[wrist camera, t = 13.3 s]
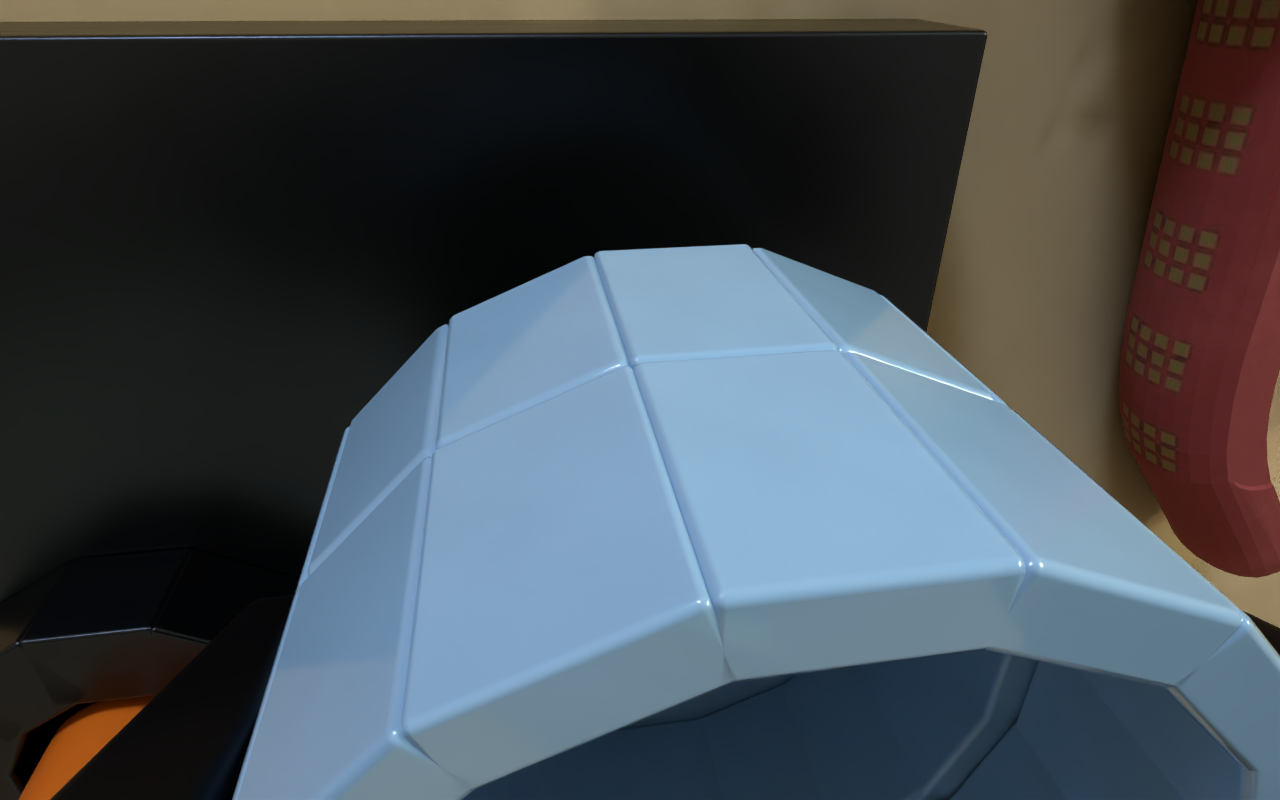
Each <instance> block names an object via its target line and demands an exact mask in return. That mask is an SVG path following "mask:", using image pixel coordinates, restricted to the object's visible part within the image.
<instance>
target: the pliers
mask: <svg viewBox="0 0 1280 800" xmlns="http://www.w3.org/2000/svg"><path fill="white" fill-rule="evenodd" d="M1279 369H1280V0H1198V3H1197V8H1196V12H1195V17H1194V21H1193V25H1192V30H1191V34H1190V38H1189V43H1188V47H1187V52H1186V56H1185V60H1184V65H1183V69H1182V73H1181V78H1180V82H1179V87H1178V91H1177V95H1176V100H1175V104H1174V109H1173V113H1172V117H1171V122H1170V126H1169V130H1168V135H1167V139H1166V144H1165V148H1164V152H1163V157H1162V161H1161V166H1160V170H1159V174H1158V179H1157V183H1156V187H1155V192H1154V196H1153V201H1152V205H1151V209H1150V214H1149V218H1148V223H1147V227H1146V231H1145V236H1144V240H1143V244H1142V249H1141V253H1140V258H1139V262H1138V266H1137V271H1136V275H1135V279H1134V284H1133V288H1132V293H1131V297H1130V301H1129V306H1128V310H1127V315H1126V320H1125V327H1124V334H1123V340H1122V347H1121V359H1120V372H1119V407H1120V413H1121V420H1122V426H1123V432H1124V436H1125V440H1126V442H1127V444H1128V446H1129V448H1130V450H1131V452H1132V454H1133V456H1134V458H1135V460H1136V462H1137V463H1138V465H1139V467H1140V469H1141V471H1142V473H1143V475H1144V477H1145V479H1146V480H1147V482H1148V484H1149V486H1150V488H1151V490H1152V492H1153V494H1154V495H1155V497H1156V499H1157V501H1158V503H1159V505H1160V507H1161V509H1162V510H1163V512H1164V514H1165V516H1166V518H1167V520H1168V522H1169V524H1170V526H1171V528H1172V530H1173V532H1174V533H1175V535H1176V536H1177V537H1178V539H1179V540H1180V541H1181V543H1182V544H1183V545H1185V546H1186V547H1187V548H1188V549H1189V550H1190V551H1191V552H1192V553H1193V554H1195V555H1196V556H1197V557H1199V558H1200V559H1202V560H1204V561H1205V562H1207V563H1209V564H1210V565H1212V566H1214V567H1216V568H1218V569H1221V570H1223V571H1225V572H1228V573H1231V574H1235V575H1238V576H1244V577H1256V578H1257V577H1262V576H1267V575H1270V574H1273V573H1276V572H1279V571H1280V502H1279V499H1278V497H1277V494H1276V491H1275V489H1274V486H1273V485H1272V483H1271V480H1270V475H1269V469H1268V463H1267V439H1266V438H1267V429H1268V420H1269V412H1270V407H1271V402H1272V398H1273V393H1274V388H1275V384H1276V380H1277V377H1278V373H1279Z"/></svg>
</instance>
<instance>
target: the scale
mask: <svg viewBox="0 0 1280 800" xmlns="http://www.w3.org/2000/svg"><path fill="white" fill-rule="evenodd" d="M986 39H987V32H986V31H984V30H980V29H974V28H968V27H961V26H955V25H949V24H943V23H937V22H931V21H925V20H919V19H759V20H463V21H167V22H0V800H18V799H19V797H20V795H21V794H22V792H23V790H24V788H25V786H26V785H27V783H28V781H29V779H30V777H31V776H32V774H33V772H34V770H35V768H36V767H37V765H38V763H39V761H40V759H41V758H42V756H43V754H44V752H45V751H46V749H47V747H48V745H49V743H50V742H51V740H52V738H53V736H54V734H55V733H56V731H57V730H58V729H59V727H60V726H61V725H62V724H63V723H64V722H65V721H66V720H67V719H68V718H69V717H71V716H72V715H74V714H75V713H77V712H78V711H80V710H81V709H83V708H85V707H87V706H89V705H91V704H93V703H96V702H99V701H107V700H116V699H125V698H133V697H142V696H150V695H153V696H156V695H157V694H158V693H159V692H160V691H161V690H162V689H163V688H164V687H165V686H166V685H167V684H168V683H169V682H170V681H171V680H172V679H173V678H174V677H175V676H176V675H177V674H178V673H179V672H180V671H182V670H183V669H184V668H185V667H186V666H187V665H188V664H189V663H190V662H191V661H192V660H193V659H194V658H195V657H196V656H197V655H198V654H199V653H200V652H201V651H202V650H203V649H204V648H205V647H206V646H207V645H208V644H209V643H210V642H211V641H212V640H213V639H214V638H215V637H216V636H217V635H218V634H219V633H220V632H221V631H222V630H223V629H224V628H225V627H226V626H227V625H228V624H229V623H231V622H232V621H233V620H234V619H235V618H236V617H237V616H238V615H239V614H240V613H241V612H242V611H243V610H244V609H245V608H246V607H247V606H248V605H249V604H250V603H252V602H253V601H255V600H257V599H261V598H268V597H277V596H287V595H295V592H296V588H297V585H298V582H299V578H300V575H301V572H302V568H303V565H304V562H305V559H306V555H307V552H308V549H309V545H310V542H311V539H312V536H313V532H314V529H315V526H316V522H317V519H318V516H319V513H320V509H321V506H322V503H323V499H324V496H325V493H326V490H327V486H328V483H329V480H330V476H331V473H332V470H333V466H334V463H335V460H336V457H337V453H338V450H339V447H340V443H341V440H342V437H343V434H344V431H345V430H346V429H347V427H349V426H350V425H351V422H352V420H353V419H354V418H355V417H356V415H357V414H358V413H359V412H360V411H361V410H362V409H363V408H364V407H365V406H366V405H367V404H368V403H369V401H370V400H371V399H372V398H373V397H374V396H375V395H376V394H377V393H378V392H379V391H380V390H381V388H382V387H383V386H384V385H385V384H386V383H387V382H388V381H389V380H390V379H391V378H392V377H393V376H394V374H395V373H396V372H397V371H398V370H399V369H400V368H401V367H402V366H403V365H404V364H405V363H406V361H407V360H408V359H409V358H410V357H411V356H412V355H413V354H414V353H415V352H416V351H417V350H418V348H419V347H420V346H421V345H422V344H423V343H424V342H425V341H426V340H427V339H428V338H429V337H430V336H431V334H432V333H433V332H434V331H435V330H436V329H437V328H439V327H441V326H443V325H445V324H447V325H448V324H449V320H450V319H451V318H452V317H453V316H454V315H456V314H458V313H460V312H462V311H465V310H467V309H469V308H471V307H473V306H476V305H478V304H480V303H482V302H485V301H487V300H489V299H491V298H493V297H496V296H498V295H500V294H502V293H504V292H507V291H509V290H511V289H513V288H515V287H518V286H520V285H522V284H524V283H527V282H529V281H531V280H533V279H535V278H538V277H540V276H542V275H544V274H546V273H549V272H551V271H553V270H555V269H557V268H560V267H562V266H564V265H566V264H569V263H571V262H573V261H575V260H577V259H580V258H582V257H584V256H592V257H593V258H594V255H595V253H597V252H599V251H612V250H633V249H654V248H675V247H696V246H717V245H738V244H746V245H749V246H750V247H751V248H752V249H753V248H763V249H765V250H768V251H771V252H773V253H776V254H778V255H781V256H784V257H786V258H789V259H792V260H794V261H797V262H800V263H802V264H805V265H807V266H810V267H813V268H815V269H818V270H821V271H823V272H826V273H829V274H831V275H834V276H836V277H839V278H842V279H844V280H847V281H850V282H852V283H855V284H858V285H860V286H863V287H865V288H868V289H871V290H873V291H875V292H876V293H878V294H879V295H882V296H885V297H886V298H887V299H888V300H889V301H890V302H891V303H893V304H894V305H895V306H896V307H897V308H898V309H899V310H901V311H902V312H903V313H904V314H905V315H906V316H907V317H909V318H910V319H911V320H912V321H913V322H914V323H915V324H916V325H918V326H919V327H920V328H921V329H922V330H923V331H924V332H926V330H927V325H928V321H929V316H930V311H931V306H932V301H933V296H934V291H935V287H936V282H937V277H938V272H939V267H940V262H941V257H942V253H943V248H944V243H945V238H946V233H947V228H948V223H949V219H950V214H951V209H952V204H953V199H954V194H955V190H956V185H957V180H958V175H959V170H960V165H961V160H962V156H963V151H964V146H965V141H966V136H967V131H968V126H969V122H970V117H971V112H972V107H973V102H974V97H975V92H976V88H977V83H978V78H979V73H980V68H981V63H982V59H983V54H984V49H985V44H986Z"/></svg>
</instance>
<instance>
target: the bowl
mask: <svg viewBox="0 0 1280 800" xmlns="http://www.w3.org/2000/svg"><path fill="white" fill-rule="evenodd" d="M232 800H1280V655H1279V654H1278V653H1277V651H1276V650H1275V649H1274V648H1273V646H1272V645H1271V644H1270V643H1269V641H1268V640H1267V639H1266V637H1265V636H1264V635H1263V634H1262V632H1261V631H1260V630H1259V629H1258V627H1257V626H1256V625H1255V623H1254V622H1253V621H1252V620H1251V618H1250V617H1249V616H1248V615H1247V614H1246V613H1244V612H1243V611H1242V610H1241V609H1240V608H1239V607H1238V606H1236V605H1235V604H1234V603H1233V602H1232V601H1231V600H1230V599H1228V598H1227V597H1226V596H1225V595H1224V594H1223V593H1222V592H1220V591H1219V590H1218V589H1217V588H1216V587H1215V586H1214V585H1212V584H1211V583H1210V582H1209V581H1208V580H1207V579H1206V578H1205V577H1203V576H1202V575H1201V574H1200V573H1199V572H1198V571H1197V570H1195V569H1194V568H1193V567H1192V566H1191V565H1190V564H1189V563H1187V562H1186V561H1185V560H1184V559H1183V558H1182V557H1181V556H1179V555H1178V554H1177V553H1176V552H1175V551H1174V550H1173V549H1171V548H1170V547H1169V546H1168V545H1167V544H1166V543H1165V542H1163V541H1162V540H1161V539H1160V538H1159V537H1158V536H1157V535H1156V534H1154V533H1153V532H1152V531H1151V530H1150V529H1149V528H1148V527H1146V526H1145V525H1144V524H1143V523H1142V522H1141V521H1140V520H1138V519H1137V518H1136V517H1135V516H1134V515H1133V514H1132V513H1130V512H1129V511H1128V510H1127V509H1126V508H1125V507H1124V506H1122V505H1121V504H1120V503H1119V502H1118V501H1117V500H1116V499H1115V498H1113V497H1112V496H1111V495H1110V494H1109V493H1108V492H1107V491H1105V490H1104V489H1103V488H1102V487H1101V486H1100V485H1099V484H1097V483H1096V482H1095V481H1094V480H1093V479H1092V478H1091V477H1089V476H1088V475H1087V474H1086V473H1085V472H1084V471H1083V470H1081V469H1080V468H1079V467H1078V466H1077V465H1076V464H1075V463H1074V462H1072V461H1071V460H1070V459H1069V458H1068V457H1067V456H1066V455H1064V454H1063V453H1062V452H1061V451H1060V450H1059V449H1058V448H1056V447H1055V446H1054V445H1053V444H1052V443H1051V442H1050V441H1048V440H1047V439H1046V438H1045V437H1044V436H1043V435H1042V434H1040V433H1039V432H1038V431H1037V430H1036V429H1035V428H1034V427H1032V426H1031V425H1030V424H1029V423H1028V422H1027V421H1026V420H1025V419H1023V418H1022V417H1021V416H1020V415H1019V414H1018V413H1017V412H1015V411H1012V410H1011V409H1010V407H1009V406H1008V405H1007V404H1006V403H1005V402H1004V401H1003V400H1002V399H1001V398H1000V397H999V396H997V395H996V394H995V393H994V392H993V391H992V390H991V389H989V388H988V387H987V386H986V385H985V384H984V383H983V382H981V381H980V380H979V379H978V378H977V377H976V376H975V375H973V374H972V373H971V372H970V371H969V370H968V369H967V368H966V367H964V366H963V365H962V364H961V363H960V362H959V361H958V360H956V359H955V358H954V357H953V356H952V355H951V354H950V353H948V352H947V351H946V350H945V349H944V348H943V347H942V346H940V345H939V344H938V343H937V342H936V341H935V340H934V339H932V338H931V337H930V336H929V335H928V334H927V333H926V332H924V331H923V330H922V329H921V328H920V327H919V326H918V325H916V324H915V323H914V322H913V321H912V320H911V319H910V318H909V317H907V316H906V315H905V314H904V313H903V312H902V311H901V310H899V309H898V308H897V307H896V306H895V305H894V304H893V303H891V302H890V301H889V300H888V299H887V298H886V297H885V296H882V295H879V294H878V293H876V292H875V291H873V290H871V289H868V288H865V287H863V286H860V285H858V284H855V283H852V282H850V281H847V280H844V279H842V278H839V277H836V276H834V275H831V274H829V273H826V272H823V271H821V270H818V269H815V268H813V267H810V266H807V265H805V264H802V263H800V262H797V261H794V260H792V259H789V258H786V257H784V256H781V255H778V254H776V253H773V252H771V251H768V250H765V249H763V248H753V249H752V248H751V247H750V246H749V245H746V244H738V245H717V246H696V247H675V248H654V249H633V250H612V251H599V252H597V253H595V255H594V258H593V257H592V256H584V257H582V258H580V259H577V260H575V261H573V262H571V263H569V264H566V265H564V266H562V267H560V268H557V269H555V270H553V271H551V272H549V273H546V274H544V275H542V276H540V277H538V278H535V279H533V280H531V281H529V282H527V283H524V284H522V285H520V286H518V287H515V288H513V289H511V290H509V291H507V292H504V293H502V294H500V295H498V296H496V297H493V298H491V299H489V300H487V301H485V302H482V303H480V304H478V305H476V306H473V307H471V308H469V309H467V310H465V311H462V312H460V313H458V314H456V315H454V316H453V317H452V318H451V319H450V320H449V324H448V325H447V324H445V325H443V326H441V327H439V328H437V329H436V330H435V331H434V332H433V333H432V334H431V336H430V337H429V338H428V339H427V340H426V341H425V342H424V343H423V344H422V345H421V346H420V347H419V348H418V350H417V351H416V352H415V353H414V354H413V355H412V356H411V357H410V358H409V359H408V360H407V361H406V363H405V364H404V365H403V366H402V367H401V368H400V369H399V370H398V371H397V372H396V373H395V374H394V376H393V377H392V378H391V379H390V380H389V381H388V382H387V383H386V384H385V385H384V386H383V387H382V388H381V390H380V391H379V392H378V393H377V394H376V395H375V396H374V397H373V398H372V399H371V400H370V401H369V403H368V404H367V405H366V406H365V407H364V408H363V409H362V410H361V411H360V412H359V413H358V414H357V415H356V417H355V418H354V419H353V420H352V422H351V425H350V426H349V427H347V429H346V430H345V431H344V434H343V437H342V440H341V443H340V447H339V450H338V453H337V457H336V460H335V463H334V466H333V470H332V473H331V476H330V480H329V483H328V486H327V490H326V493H325V496H324V499H323V503H322V506H321V509H320V513H319V516H318V519H317V522H316V526H315V529H314V532H313V536H312V539H311V542H310V545H309V549H308V552H307V555H306V559H305V562H304V565H303V568H302V572H301V575H300V578H299V582H298V585H297V588H296V592H295V595H294V598H293V601H292V604H291V608H290V611H289V614H288V618H287V621H286V624H285V627H284V631H283V634H282V637H281V641H280V644H279V647H278V650H277V654H276V657H275V660H274V664H273V667H272V670H271V673H270V677H269V680H268V683H267V687H266V690H265V693H264V696H263V700H262V703H261V706H260V710H259V713H258V716H257V719H256V723H255V726H254V729H253V733H252V736H251V739H250V742H249V746H248V749H247V752H246V755H245V759H244V762H243V765H242V769H241V772H240V775H239V778H238V782H237V785H236V788H235V792H234V795H233V798H232Z"/></svg>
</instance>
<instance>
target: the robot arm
mask: <svg viewBox="0 0 1280 800" xmlns="http://www.w3.org/2000/svg"><path fill="white" fill-rule="evenodd" d="M293 598H294V595H287V596H277V597H268V598H261V599H257V600H255V601H253V602H252V603H250V604H249V605H248V606H247V607H246V608H245V609H244V610H243V611H242V612H241V613H240V614H239V615H238V616H237V617H236V618H235V619H234V620H233V621H232V622H231V623H229V624H228V625H227V626H226V627H225V628H224V629H223V630H222V631H221V632H220V633H219V634H218V635H217V636H216V637H215V638H214V639H213V640H212V641H211V642H210V643H209V644H208V645H207V646H206V647H205V648H204V649H203V650H202V651H201V652H200V653H199V654H198V655H197V656H196V657H195V658H194V659H193V660H192V661H191V662H190V663H189V664H188V665H187V666H186V667H185V668H184V669H183V670H182V671H180V672H179V673H178V674H177V675H176V676H175V677H174V678H173V679H172V680H171V681H170V682H169V683H168V684H167V685H166V686H165V687H164V688H163V689H162V690H161V691H160V692H159V693H158V694H157V695H156V696H155V697H154V698H153V699H152V700H151V701H150V702H149V703H148V704H147V705H146V706H145V707H144V708H143V709H142V710H141V711H140V712H139V713H138V714H137V715H136V716H135V717H134V718H133V719H132V720H130V721H129V722H128V723H127V724H126V725H125V726H124V727H123V728H122V729H121V730H120V731H119V732H118V733H117V734H116V735H115V736H114V737H113V738H112V739H111V740H110V741H109V742H108V743H107V744H106V745H105V746H104V747H103V748H102V749H101V750H100V751H99V752H98V753H97V754H96V755H95V756H94V757H93V758H92V759H91V760H90V761H89V762H88V763H87V764H86V765H85V766H84V767H83V768H82V769H80V770H79V771H78V772H77V773H76V774H75V775H74V776H73V777H72V778H71V779H70V780H69V781H68V782H67V783H66V784H65V785H64V786H63V787H62V788H61V789H60V790H59V791H58V792H57V793H56V794H55V795H54V796H53V797H52V798H51V799H50V800H232V798H233V795H234V792H235V788H236V785H237V782H238V778H239V775H240V772H241V769H242V765H243V762H244V759H245V755H246V752H247V749H248V746H249V742H250V739H251V736H252V733H253V729H254V726H255V723H256V719H257V716H258V713H259V710H260V706H261V703H262V700H263V696H264V693H265V690H266V687H267V683H268V680H269V677H270V673H271V670H272V667H273V664H274V660H275V657H276V654H277V650H278V647H279V644H280V641H281V637H282V634H283V631H284V627H285V624H286V621H287V618H288V614H289V611H290V608H291V604H292V601H293ZM1243 612H1244V613H1246V614H1247V615H1248V616H1249V617H1250V618H1251V620H1252V621H1253V622H1254V623H1255V625H1256V626H1257V627H1258V629H1259V630H1260V631H1261V632H1262V634H1263V635H1264V636H1265V637H1266V639H1267V640H1268V641H1269V643H1270V644H1271V645H1272V646H1273V648H1274V649H1275V650H1276V651H1277V653H1278V654H1279V655H1280V628H1278V627H1276V626H1274V625H1272V624H1270V623H1268V622H1266V621H1263V620H1261V619H1259V618H1257V617H1255V616H1253V615H1251V614H1249V613H1247V612H1245V611H1243Z"/></svg>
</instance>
